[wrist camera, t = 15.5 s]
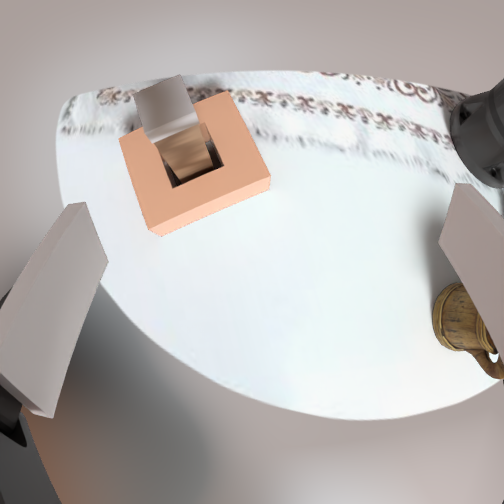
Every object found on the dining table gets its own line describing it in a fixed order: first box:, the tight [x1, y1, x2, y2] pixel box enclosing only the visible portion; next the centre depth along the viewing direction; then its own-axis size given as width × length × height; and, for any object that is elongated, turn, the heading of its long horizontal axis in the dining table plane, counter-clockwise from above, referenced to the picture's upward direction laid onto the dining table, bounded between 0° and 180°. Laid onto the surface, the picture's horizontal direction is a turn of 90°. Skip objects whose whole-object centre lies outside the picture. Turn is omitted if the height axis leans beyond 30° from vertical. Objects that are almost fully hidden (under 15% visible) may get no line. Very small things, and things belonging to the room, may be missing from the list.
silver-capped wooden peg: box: [133, 75, 215, 184], centre depth 31 cm, size 4×4×16 cm
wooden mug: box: [433, 283, 504, 384], centre depth 27 cm, size 9×14×18 cm, turn 178°
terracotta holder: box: [119, 90, 271, 237], centre depth 36 cm, size 14×12×5 cm
